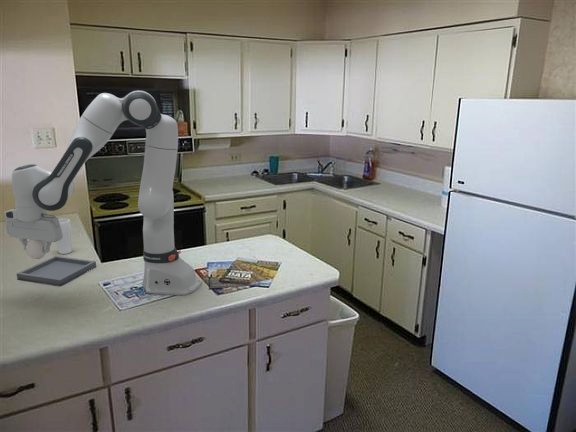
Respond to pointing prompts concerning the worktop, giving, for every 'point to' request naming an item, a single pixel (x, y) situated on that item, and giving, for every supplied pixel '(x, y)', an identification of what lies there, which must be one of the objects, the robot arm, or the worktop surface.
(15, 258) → the worktop surface
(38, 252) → the egg
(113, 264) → the worktop surface
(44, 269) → the tray
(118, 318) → the worktop surface
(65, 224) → the drinking glass
